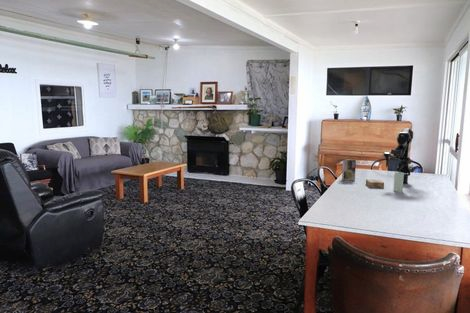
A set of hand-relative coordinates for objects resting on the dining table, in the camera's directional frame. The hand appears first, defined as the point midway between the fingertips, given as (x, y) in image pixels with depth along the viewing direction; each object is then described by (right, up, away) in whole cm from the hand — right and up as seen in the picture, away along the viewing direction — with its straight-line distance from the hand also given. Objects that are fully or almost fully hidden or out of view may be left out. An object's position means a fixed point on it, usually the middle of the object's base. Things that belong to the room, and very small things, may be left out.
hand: (392, 168), depth 260 cm
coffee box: (-21, -10, +32) cm, 40 cm away
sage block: (+2, -15, -4) cm, 16 cm away
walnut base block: (-9, -13, +10) cm, 19 cm away
